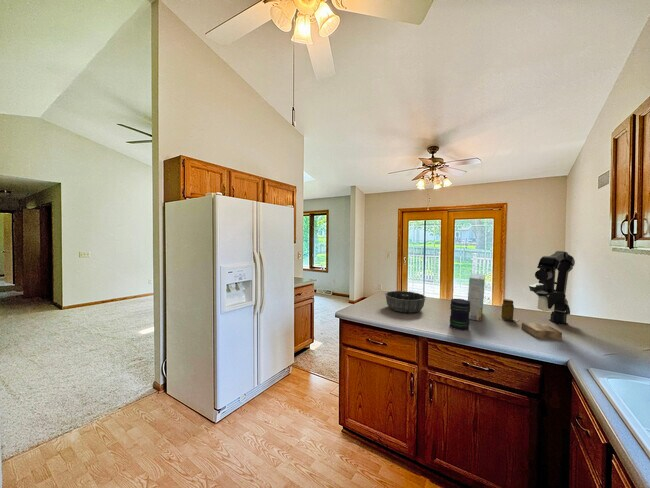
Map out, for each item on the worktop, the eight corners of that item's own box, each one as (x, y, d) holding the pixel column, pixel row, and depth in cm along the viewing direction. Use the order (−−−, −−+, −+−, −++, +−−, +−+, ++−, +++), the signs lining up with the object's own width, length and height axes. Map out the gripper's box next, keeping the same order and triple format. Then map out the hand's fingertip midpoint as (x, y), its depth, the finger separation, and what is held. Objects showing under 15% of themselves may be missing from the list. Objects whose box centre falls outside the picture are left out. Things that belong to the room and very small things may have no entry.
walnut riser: (545, 331, 144) (545, 323, 144) (561, 340, 133) (562, 332, 132) (521, 329, 146) (521, 322, 146) (535, 338, 134) (536, 330, 134)
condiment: (502, 316, 167) (503, 298, 166) (518, 320, 161) (519, 301, 160) (498, 318, 163) (499, 299, 162) (514, 322, 156) (516, 303, 155)
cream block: (547, 309, 147) (548, 296, 147) (554, 311, 142) (555, 298, 142) (537, 308, 148) (538, 295, 148) (543, 310, 143) (544, 298, 143)
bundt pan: (379, 304, 190) (380, 290, 190) (414, 303, 193) (414, 290, 193) (392, 316, 164) (393, 300, 163) (432, 315, 167) (433, 299, 166)
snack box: (482, 322, 156) (484, 279, 155) (465, 319, 161) (468, 277, 159) (483, 312, 175) (485, 274, 173) (468, 310, 179) (470, 272, 178)
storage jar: (446, 327, 147) (448, 300, 146) (452, 322, 154) (453, 297, 153) (466, 332, 140) (467, 304, 139) (471, 327, 147) (472, 301, 146)
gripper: (521, 275, 155) (519, 301, 155) (543, 281, 136) (541, 311, 137) (542, 276, 153) (540, 303, 154) (567, 282, 135) (565, 312, 136)
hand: (545, 307), depth 145 cm, fingers closed on cream block, 5 cm apart
